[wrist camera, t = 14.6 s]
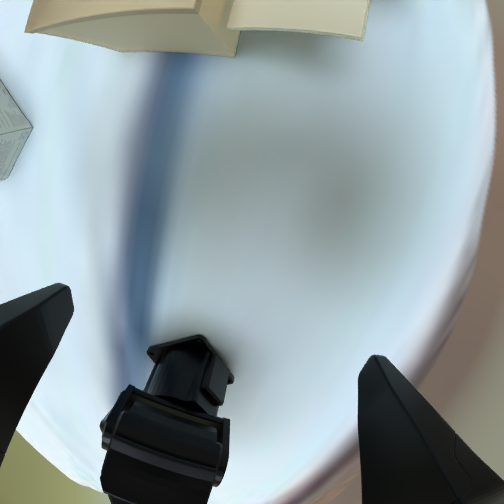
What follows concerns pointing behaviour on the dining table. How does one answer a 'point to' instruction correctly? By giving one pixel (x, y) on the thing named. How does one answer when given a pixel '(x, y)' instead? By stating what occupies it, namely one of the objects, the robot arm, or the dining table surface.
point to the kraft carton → (140, 24)
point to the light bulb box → (11, 132)
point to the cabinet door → (302, 16)
